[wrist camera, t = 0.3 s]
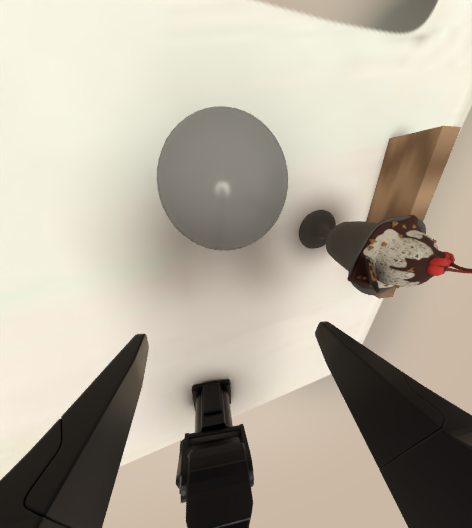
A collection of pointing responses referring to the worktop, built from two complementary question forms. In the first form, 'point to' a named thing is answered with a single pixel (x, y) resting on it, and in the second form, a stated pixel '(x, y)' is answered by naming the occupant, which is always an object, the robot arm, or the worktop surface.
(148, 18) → the worktop surface
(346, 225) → the sundae
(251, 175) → the slate plinth
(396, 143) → the brown wooden plank
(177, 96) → the worktop surface
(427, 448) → the robot arm
